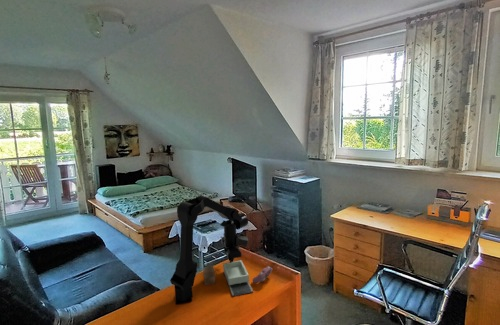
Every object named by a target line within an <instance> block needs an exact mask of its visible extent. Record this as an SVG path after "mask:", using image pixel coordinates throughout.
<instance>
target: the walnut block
mask: <svg viewBox="0 0 500 325" xmlns="http://www.w3.org/2000/svg"><path fill="white" fill-rule="evenodd" d="M202 269H203V281H204V285H205V286H209V285H214V284H216V272H215V268H214V265H211V266H206V267H203V268H202Z"/></svg>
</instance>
